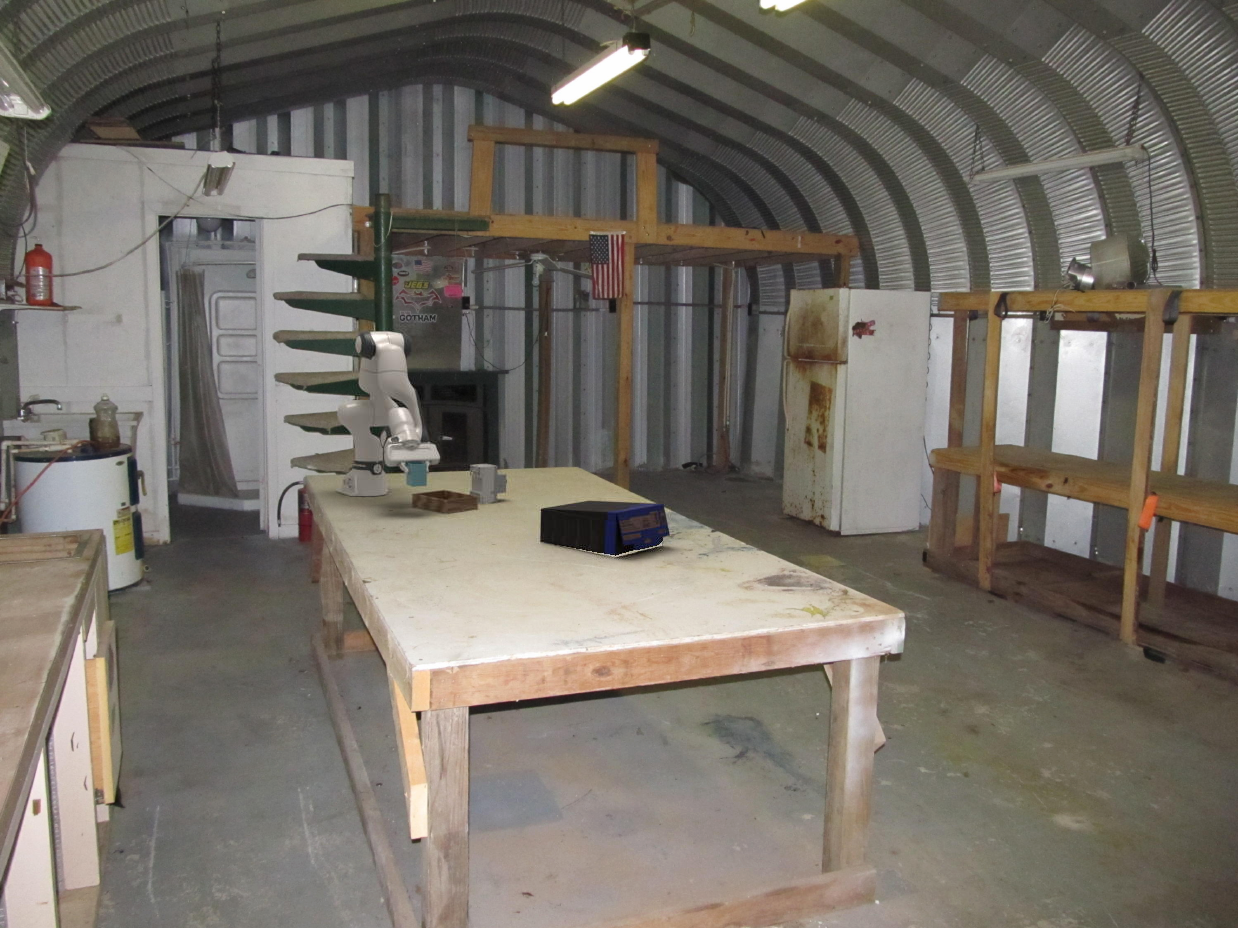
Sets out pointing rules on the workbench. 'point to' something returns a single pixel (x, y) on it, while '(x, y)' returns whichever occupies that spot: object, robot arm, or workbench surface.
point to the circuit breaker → (487, 482)
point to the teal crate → (417, 474)
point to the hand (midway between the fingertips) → (417, 473)
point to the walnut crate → (445, 501)
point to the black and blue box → (604, 526)
